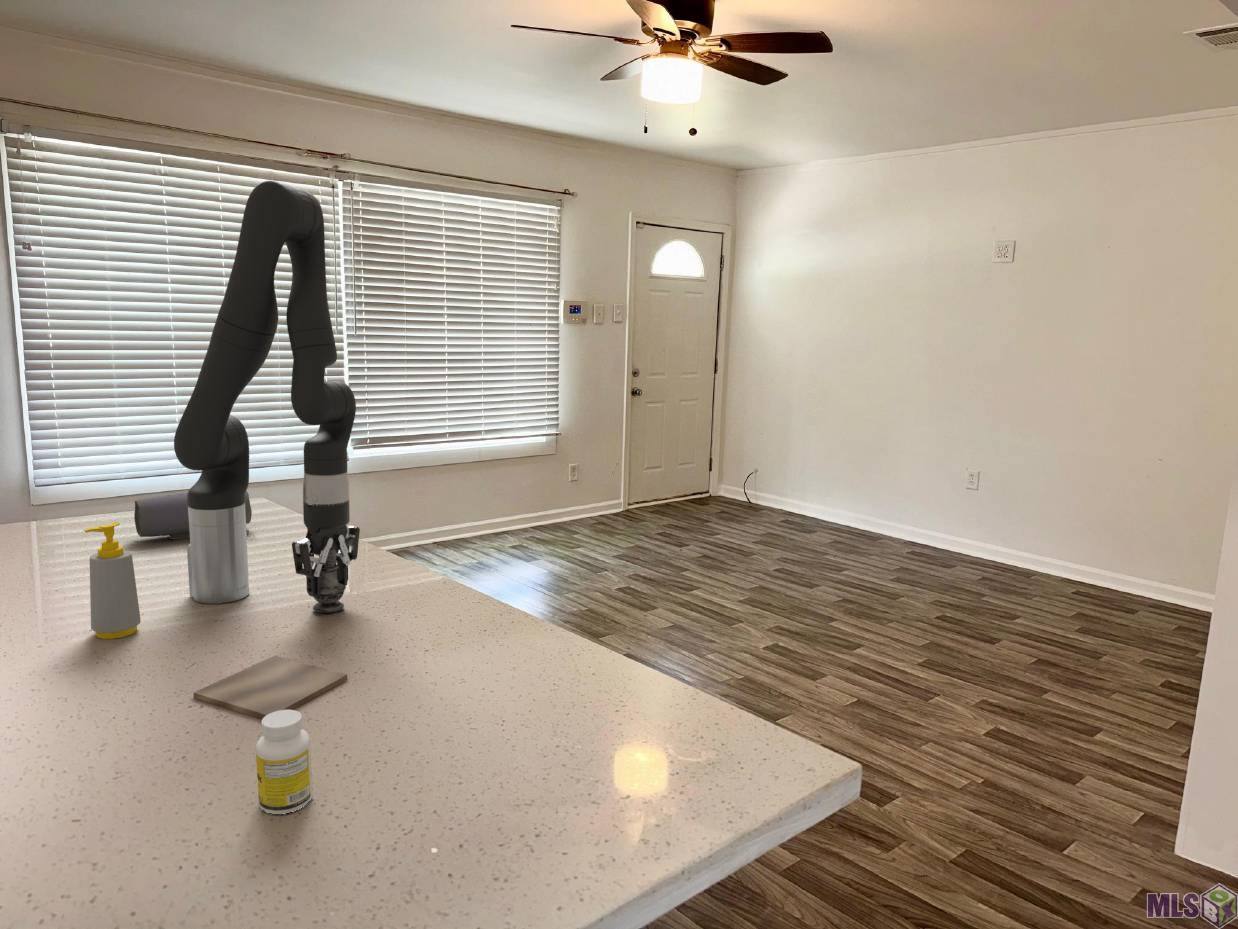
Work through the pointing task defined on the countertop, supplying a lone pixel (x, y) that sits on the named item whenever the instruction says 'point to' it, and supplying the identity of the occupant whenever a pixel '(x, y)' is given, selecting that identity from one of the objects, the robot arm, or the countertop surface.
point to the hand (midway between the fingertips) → (328, 590)
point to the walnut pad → (270, 687)
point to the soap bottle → (112, 588)
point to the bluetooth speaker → (168, 516)
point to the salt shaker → (329, 587)
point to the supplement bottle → (283, 763)
